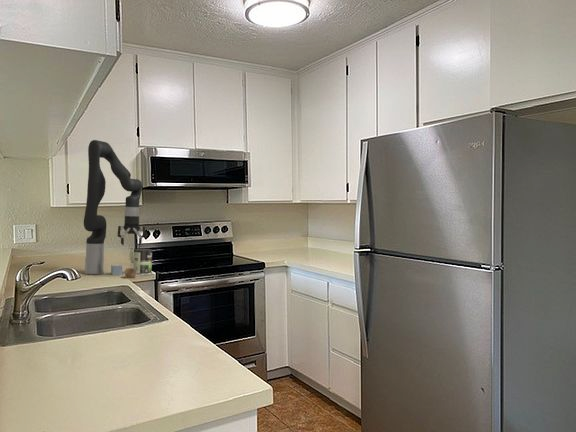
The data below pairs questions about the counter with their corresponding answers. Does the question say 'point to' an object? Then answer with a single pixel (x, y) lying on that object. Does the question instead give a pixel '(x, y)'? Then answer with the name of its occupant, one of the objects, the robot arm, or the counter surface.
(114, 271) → the slate-blue block
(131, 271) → the walnut block
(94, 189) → the robot arm
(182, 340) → the counter surface
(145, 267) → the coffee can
